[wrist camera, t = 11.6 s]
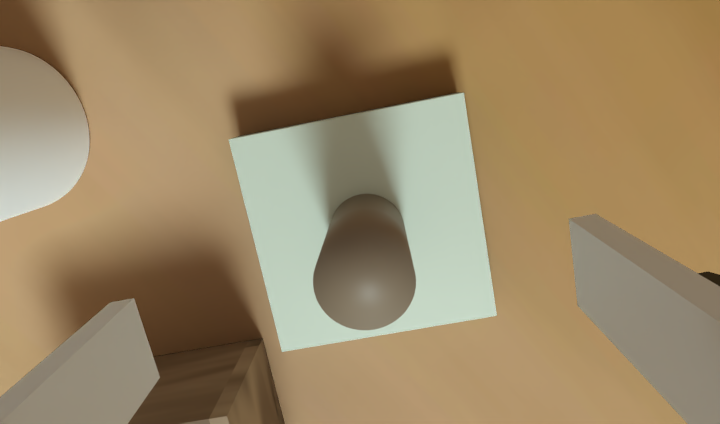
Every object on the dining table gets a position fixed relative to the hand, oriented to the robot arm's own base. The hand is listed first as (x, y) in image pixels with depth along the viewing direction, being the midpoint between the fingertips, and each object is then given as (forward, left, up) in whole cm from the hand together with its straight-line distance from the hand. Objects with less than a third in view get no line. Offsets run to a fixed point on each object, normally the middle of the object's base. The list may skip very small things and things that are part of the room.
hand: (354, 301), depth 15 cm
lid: (0, 0, -11) cm, 11 cm away
